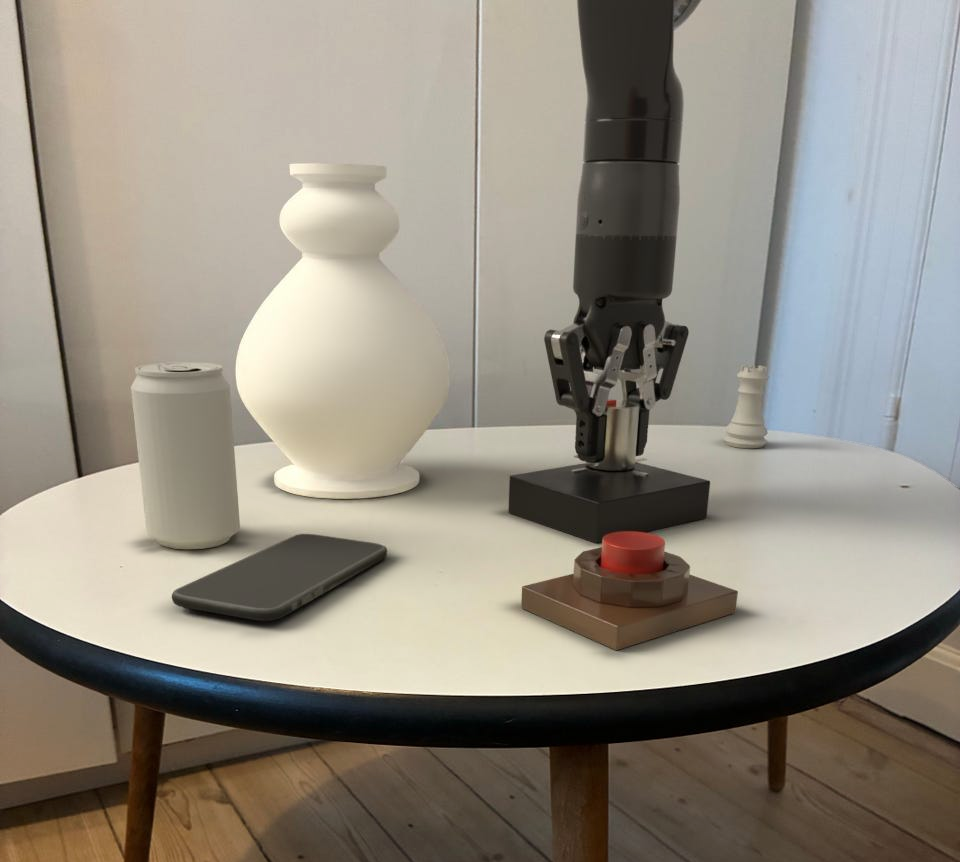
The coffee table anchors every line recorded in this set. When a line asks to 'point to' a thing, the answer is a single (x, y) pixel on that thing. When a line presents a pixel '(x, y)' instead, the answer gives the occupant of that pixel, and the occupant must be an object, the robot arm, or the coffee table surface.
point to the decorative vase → (342, 345)
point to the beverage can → (186, 453)
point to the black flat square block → (608, 499)
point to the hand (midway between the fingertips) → (610, 456)
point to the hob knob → (619, 436)
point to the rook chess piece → (748, 410)
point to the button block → (627, 601)
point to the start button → (632, 552)
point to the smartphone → (280, 577)
